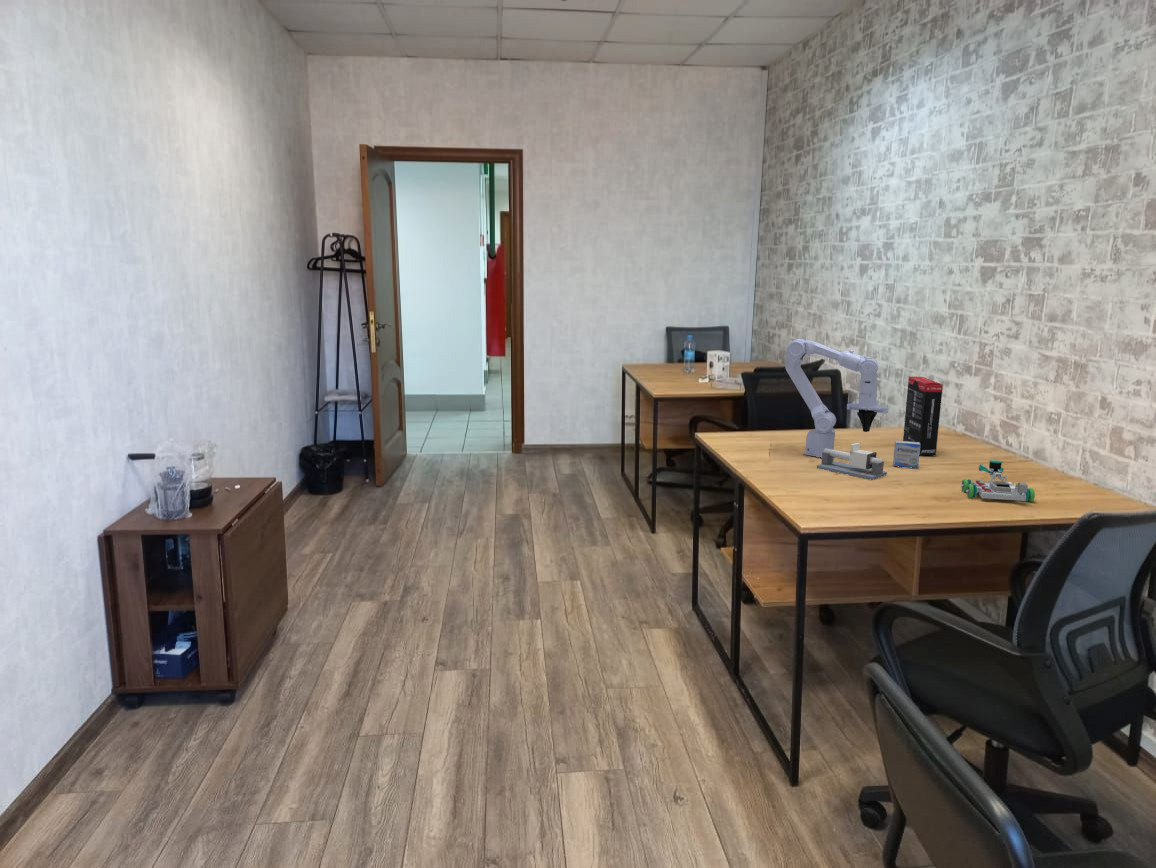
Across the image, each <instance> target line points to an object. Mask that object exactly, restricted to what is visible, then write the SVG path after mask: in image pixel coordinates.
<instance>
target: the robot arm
mask: <svg viewBox="0 0 1156 868" xmlns="http://www.w3.org/2000/svg"><path fill="white" fill-rule="evenodd" d="M784 352H785V353H784V354H785V367H784V369H785V371H786V372H787V374H788V376H789V377H790V379H791V381H792V383H793V384H794V385H795V387H796V389H797V391H798V392H799V394H800V397H802V399H803V401H804V402H805V404H806V406H807V407H808V409H809V411H810V413H811V417H812V420H813V421H814V422H813V423H814V427H815V428H814V429H810V430H808V431H807V435H806V437H805V438H806V439H805V452H804V453H803V455H805V456H811V457H815V456H816V457H817V458H820V457H821V459H822V453H823V452H824V449H825V448H827V449H832V450H835V449H834V448H835V439H836V438H835V437H836V429H834V426H835V425H836V423H837V418H836V417H837V416H836V415H835V414H834V413H833V412H832V411H830V410H829V409H828V406H826V405H825V404H824V403H823V401H822V400H821V398H820V396H819V395H818V393H817V391H816V390H815V388H814V386H813V384H812V383H811V382H810V380H809V379H808V376H807V375H806V373H805V371H804V370H803V368H802V367H801V366H802V363H803V360H804V357H805V356H808V355H809V356H810V355H816V354H817V355H820V356H823V357H824V358H825V357H826V358H828V359H832V360H834V361H837V363H838V364H839V366H840V367H843V368H845V369H848V370H850V371H854V372H857V373H858V372H859V373H860V380H859V391H858V392H859V395H858V403H847V404H846V410H853V411H854V410H855V411H858V412H857V413H856V414H857V417H858V418H859V421H860V423H861V427H862V431H863V433H867V432H870V429H871V427H872V424H873V421H874V419H875V418H876V416H877V414H878V413H881V414H884V415H885V414H889V406H888V407H887V406H882V405H881V406H880V405H877V394H878V392H877V391H878V390H877V389H878V380H877V379H878V375H877V374H878V373H877V372H878V370H879V363H878V361H876V359H874V358H873V357H868V356H867V355H863V356H862V355H861V354H857V353H855V352H854V350H853V349H850V350H844V351H839V350H836V349H835V348H832V347H829V346H827V345H825V344H822V343H820V342H818V341H813V340H809V339H805V338H803V337H799V338H796V339H794V340H791V341H790V342H789V343H788V345H787V346H786V349H785V351H784Z"/></svg>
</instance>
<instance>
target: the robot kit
mask: <svg viewBox="0 0 1156 868" xmlns="http://www.w3.org/2000/svg"><path fill="white" fill-rule="evenodd" d="M1002 463H1003V461H1001V460H994V459H993V460H991V459H989V464H988V467H987V466H984V464H982V463H980V464H979V465H978V471H979V472H982V471H983V472H986V473H988V474H989V477H990V478H991V480H985V481H983V480H982V479H980V478H979V479H976V480H975V481H972V480H971V479H969V478H968V479H967V478H963V479H962V481H961V485H960V486H961V492H963V491H964V493H966V496H968V497H967V498H968V499H972V498H973V497H974V498H973V499H976V497H977V494H978V496H980V497H981V498H982V499H993V500H994V499H995V500H1007V501H1023V502H1026V501H1027V502H1029V503H1033V501H1035V497H1036V495H1035V494H1036V493H1035V489H1034V488H1032V487H1029V485H1028V483H1027V482H1024V481H1023V482H1021V481H1020V482H1018V483H1016V484H1015V482H1014V481H1007V480H1008V479H1007V478H1008V476H1007V475H1002V473H1004V471H1005V470H1004V469H1005V468H1004V467H1002V465H1003V464H1002ZM996 478H998V479H999V480H1001V481H998V480H996Z"/></svg>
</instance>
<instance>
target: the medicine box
mask: <svg viewBox="0 0 1156 868" xmlns="http://www.w3.org/2000/svg"><path fill="white" fill-rule="evenodd" d="M920 446H921V445H920V443H919V442H908V441H903V440H895V441H894V449H893V450H894V451H893V460H892V464H893V467H894V466H899V467H898V468H902V467H912V468H911V469H915V468H918V469H919V463H920V456H919V455H920Z"/></svg>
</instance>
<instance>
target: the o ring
mask: <svg viewBox="0 0 1156 868" xmlns="http://www.w3.org/2000/svg"><path fill="white" fill-rule="evenodd" d="M872 452H873V453H870V454H868V455H867V464H866V469H872V465H870V457H871V456H873V457H874V458H877V456H878V455H877V452H876V451H872Z"/></svg>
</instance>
